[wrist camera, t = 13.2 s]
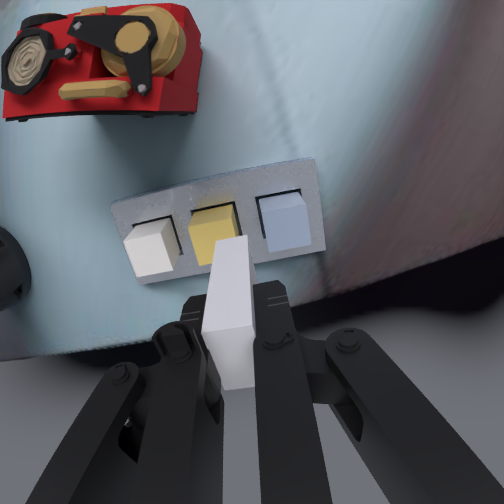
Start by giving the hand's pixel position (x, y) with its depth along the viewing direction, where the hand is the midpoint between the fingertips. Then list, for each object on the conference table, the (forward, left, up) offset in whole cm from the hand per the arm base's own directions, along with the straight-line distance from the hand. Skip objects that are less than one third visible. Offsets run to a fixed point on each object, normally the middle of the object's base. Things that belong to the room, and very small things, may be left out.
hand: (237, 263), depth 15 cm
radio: (-9, +15, -25) cm, 30 cm away
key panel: (-4, -6, -24) cm, 25 cm away
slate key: (+4, -6, -23) cm, 24 cm away
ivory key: (-12, -6, -23) cm, 26 cm away
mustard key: (-4, -6, -23) cm, 24 cm away
